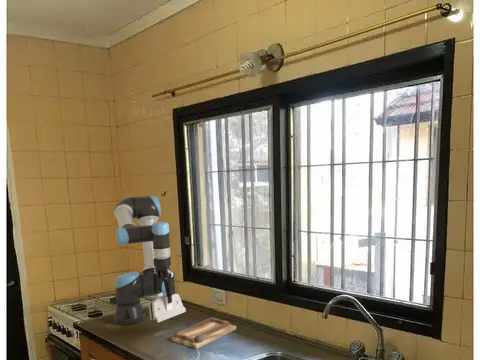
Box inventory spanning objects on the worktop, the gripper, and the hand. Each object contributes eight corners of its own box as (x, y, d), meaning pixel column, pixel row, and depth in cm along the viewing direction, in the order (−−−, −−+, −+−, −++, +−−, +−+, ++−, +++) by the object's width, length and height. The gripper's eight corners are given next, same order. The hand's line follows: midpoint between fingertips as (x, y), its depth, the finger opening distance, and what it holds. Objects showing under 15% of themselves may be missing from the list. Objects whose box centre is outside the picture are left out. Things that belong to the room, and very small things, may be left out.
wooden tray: (171, 340, 177) (170, 332, 176) (211, 322, 196) (210, 315, 196) (196, 348, 166) (196, 340, 166) (236, 329, 185) (235, 321, 185)
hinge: (157, 322, 172) (152, 299, 174) (150, 323, 175) (145, 300, 177) (186, 311, 185) (181, 289, 186) (180, 312, 188) (175, 290, 189)
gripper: (142, 256, 184) (145, 307, 184) (168, 261, 172) (171, 315, 172) (155, 253, 189) (158, 302, 190) (181, 257, 178) (184, 310, 178)
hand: (164, 308), depth 181 cm, fingers closed on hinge, 5 cm apart
